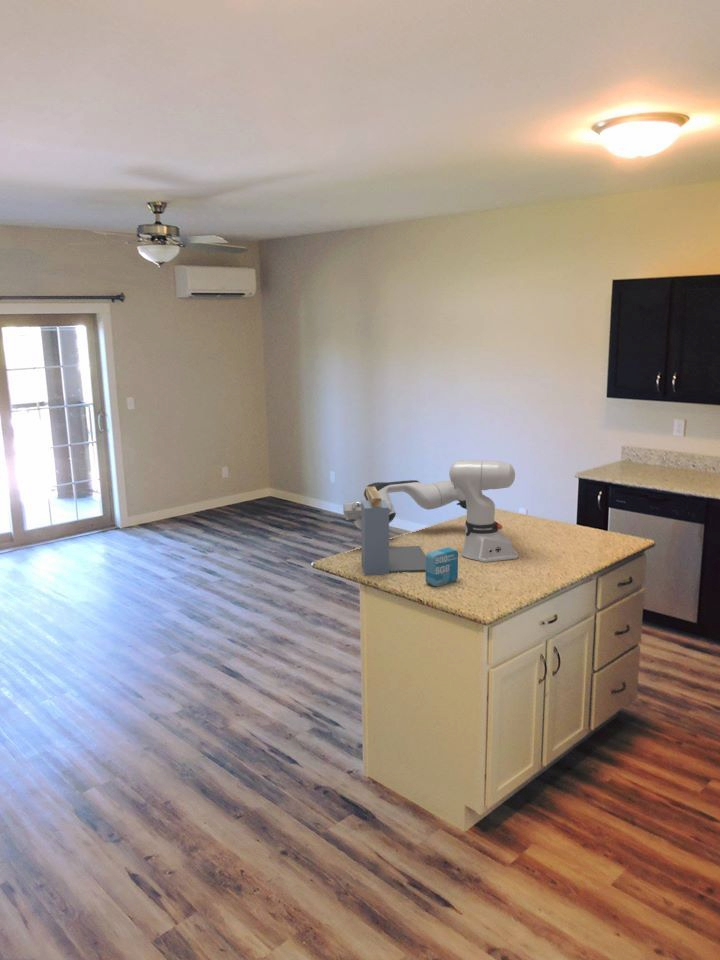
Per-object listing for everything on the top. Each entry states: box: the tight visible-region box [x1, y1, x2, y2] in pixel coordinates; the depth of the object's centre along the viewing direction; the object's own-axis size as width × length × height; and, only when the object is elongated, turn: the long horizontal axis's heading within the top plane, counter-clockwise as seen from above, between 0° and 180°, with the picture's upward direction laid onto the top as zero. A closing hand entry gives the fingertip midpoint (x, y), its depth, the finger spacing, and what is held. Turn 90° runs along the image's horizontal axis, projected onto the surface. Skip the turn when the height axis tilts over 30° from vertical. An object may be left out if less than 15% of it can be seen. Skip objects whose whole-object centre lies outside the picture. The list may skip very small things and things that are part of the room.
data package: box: [424, 547, 459, 587], centre depth 272 cm, size 12×4×12 cm, turn 126°
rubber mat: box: [389, 545, 426, 574], centre depth 299 cm, size 17×30×1 cm, turn 6°
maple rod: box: [365, 486, 381, 508], centre depth 286 cm, size 4×20×4 cm, turn 6°
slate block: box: [360, 500, 390, 577], centre depth 284 cm, size 9×12×26 cm
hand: (369, 503), depth 302 cm, fingers open, 8 cm apart
